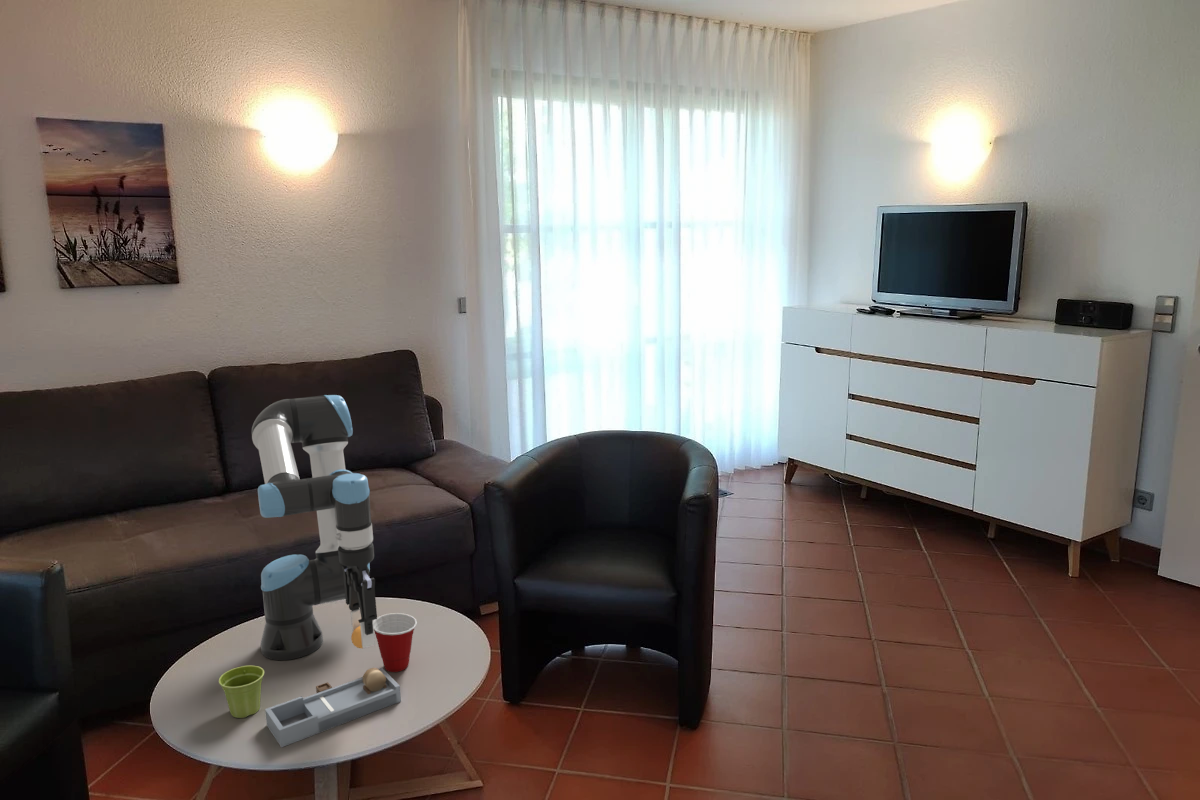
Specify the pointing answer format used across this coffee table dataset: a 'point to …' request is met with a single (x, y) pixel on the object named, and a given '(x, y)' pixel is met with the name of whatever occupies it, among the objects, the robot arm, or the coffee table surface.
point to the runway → (328, 709)
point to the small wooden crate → (323, 687)
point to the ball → (357, 638)
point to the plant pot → (242, 689)
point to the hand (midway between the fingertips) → (363, 641)
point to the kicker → (373, 680)
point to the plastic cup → (395, 639)
